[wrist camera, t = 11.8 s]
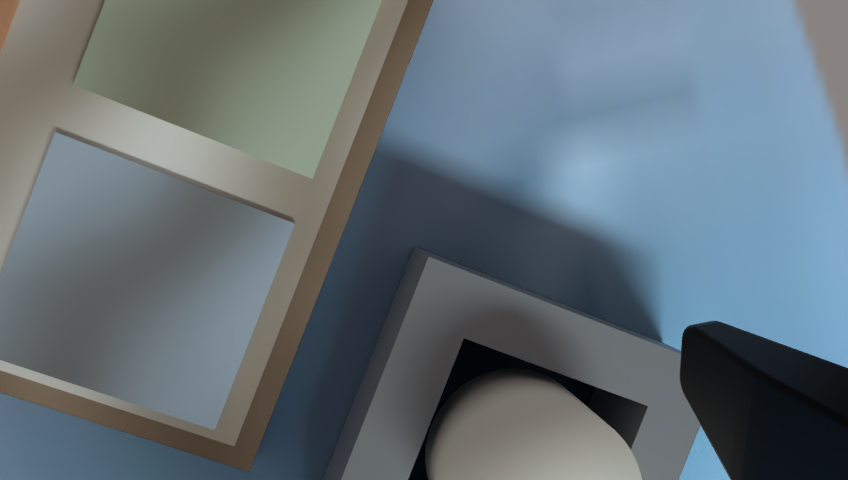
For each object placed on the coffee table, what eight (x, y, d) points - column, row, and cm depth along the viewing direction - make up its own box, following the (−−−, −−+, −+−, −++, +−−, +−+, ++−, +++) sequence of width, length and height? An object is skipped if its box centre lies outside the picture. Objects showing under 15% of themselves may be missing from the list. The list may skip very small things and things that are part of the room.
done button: (616, 400, 17) (673, 444, 14) (554, 555, 17) (599, 630, 14) (462, 344, 17) (490, 377, 14) (399, 505, 17) (412, 573, 14)
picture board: (440, -20, 18) (448, -37, 16) (254, 456, 18) (247, 477, 17) (-182, -302, 16) (-231, -349, 14) (-386, 249, 16) (-453, 254, 14)
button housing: (664, 343, 19) (722, 370, 16) (563, 592, 20) (604, 663, 17) (413, 246, 18) (428, 256, 15) (309, 511, 18) (304, 573, 15)
